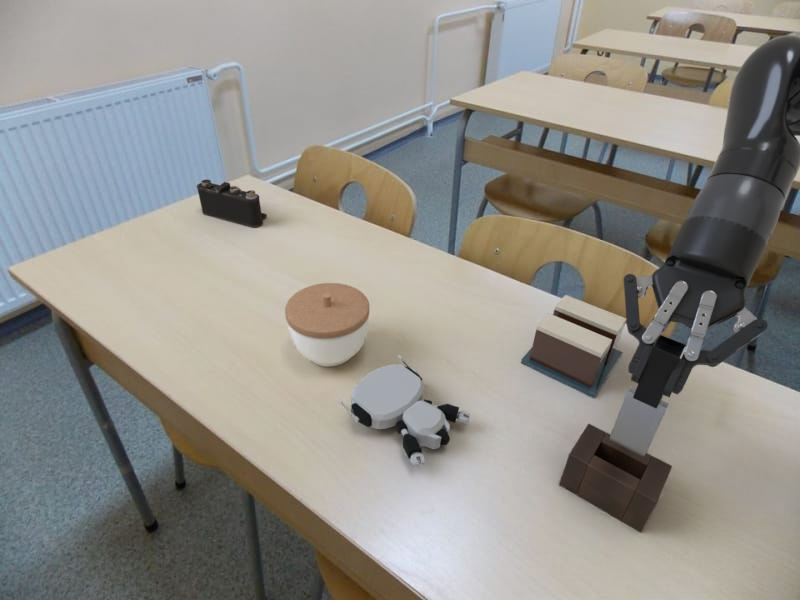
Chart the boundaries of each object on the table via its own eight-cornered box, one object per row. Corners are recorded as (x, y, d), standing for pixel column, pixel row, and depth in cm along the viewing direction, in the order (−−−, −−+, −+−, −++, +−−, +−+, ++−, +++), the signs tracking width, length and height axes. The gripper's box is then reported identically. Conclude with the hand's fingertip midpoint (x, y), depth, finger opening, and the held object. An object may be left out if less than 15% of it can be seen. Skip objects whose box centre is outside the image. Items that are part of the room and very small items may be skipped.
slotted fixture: (621, 355, 84) (635, 318, 79) (594, 398, 76) (607, 359, 71) (552, 326, 90) (561, 290, 85) (520, 362, 82) (528, 325, 77)
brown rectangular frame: (656, 496, 63) (672, 465, 59) (640, 532, 59) (657, 502, 56) (577, 453, 68) (588, 422, 64) (558, 484, 64) (569, 454, 60)
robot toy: (472, 428, 72) (394, 370, 79) (478, 407, 69) (396, 349, 76) (414, 484, 64) (334, 414, 72) (418, 463, 62) (334, 393, 69)
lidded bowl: (300, 324, 88) (293, 270, 82) (373, 328, 88) (373, 274, 81) (282, 376, 78) (273, 319, 72) (365, 381, 78) (364, 324, 71)
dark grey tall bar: (648, 448, 58) (694, 348, 50) (641, 462, 57) (688, 361, 48) (613, 431, 60) (652, 331, 51) (605, 444, 59) (644, 343, 50)
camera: (273, 217, 120) (269, 185, 115) (255, 229, 115) (250, 196, 110) (217, 203, 126) (211, 171, 121) (198, 214, 121) (190, 181, 116)
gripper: (652, 196, 52) (577, 352, 51) (817, 240, 45) (733, 421, 44) (652, 225, 58) (586, 363, 57) (796, 267, 51) (723, 424, 51)
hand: (650, 387), depth 51 cm, fingers closed on dark grey tall bar, 2 cm apart
